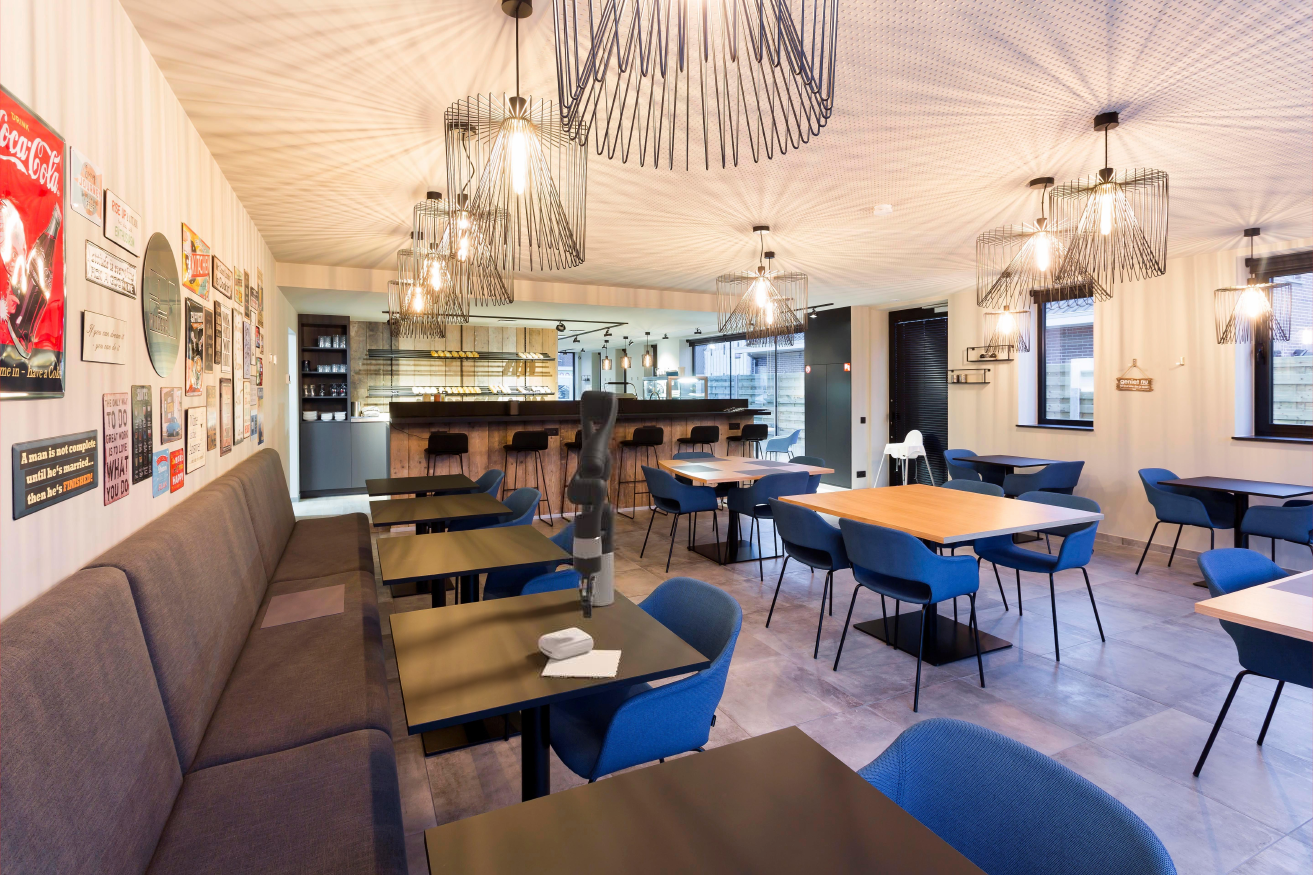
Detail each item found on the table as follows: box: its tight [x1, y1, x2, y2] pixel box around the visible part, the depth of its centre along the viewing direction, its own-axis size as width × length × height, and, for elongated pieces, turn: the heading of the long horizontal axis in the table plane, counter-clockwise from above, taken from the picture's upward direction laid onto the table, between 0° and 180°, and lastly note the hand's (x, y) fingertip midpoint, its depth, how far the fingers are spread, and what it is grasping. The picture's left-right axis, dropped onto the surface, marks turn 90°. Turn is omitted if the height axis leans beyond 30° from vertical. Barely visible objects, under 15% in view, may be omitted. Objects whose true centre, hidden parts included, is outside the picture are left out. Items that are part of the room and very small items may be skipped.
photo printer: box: [538, 627, 594, 659], centre depth 168 cm, size 10×4×12 cm
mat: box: [541, 649, 622, 679], centre depth 162 cm, size 16×18×1 cm
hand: (587, 616), depth 169 cm, fingers closed
